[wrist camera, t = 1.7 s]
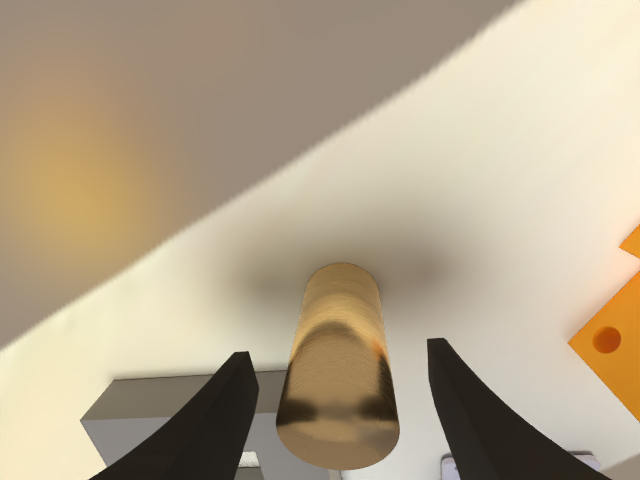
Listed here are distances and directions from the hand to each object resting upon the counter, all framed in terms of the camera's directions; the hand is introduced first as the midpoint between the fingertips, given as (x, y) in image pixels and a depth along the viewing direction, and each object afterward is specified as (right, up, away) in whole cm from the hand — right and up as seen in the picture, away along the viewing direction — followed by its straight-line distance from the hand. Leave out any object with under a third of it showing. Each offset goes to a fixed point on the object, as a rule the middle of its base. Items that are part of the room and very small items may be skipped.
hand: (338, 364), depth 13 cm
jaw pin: (0, +2, +5) cm, 5 cm away
